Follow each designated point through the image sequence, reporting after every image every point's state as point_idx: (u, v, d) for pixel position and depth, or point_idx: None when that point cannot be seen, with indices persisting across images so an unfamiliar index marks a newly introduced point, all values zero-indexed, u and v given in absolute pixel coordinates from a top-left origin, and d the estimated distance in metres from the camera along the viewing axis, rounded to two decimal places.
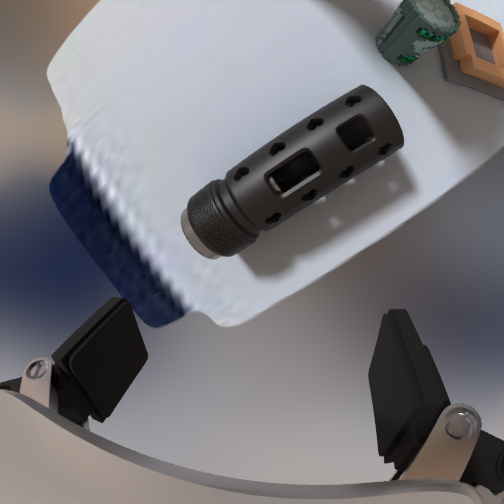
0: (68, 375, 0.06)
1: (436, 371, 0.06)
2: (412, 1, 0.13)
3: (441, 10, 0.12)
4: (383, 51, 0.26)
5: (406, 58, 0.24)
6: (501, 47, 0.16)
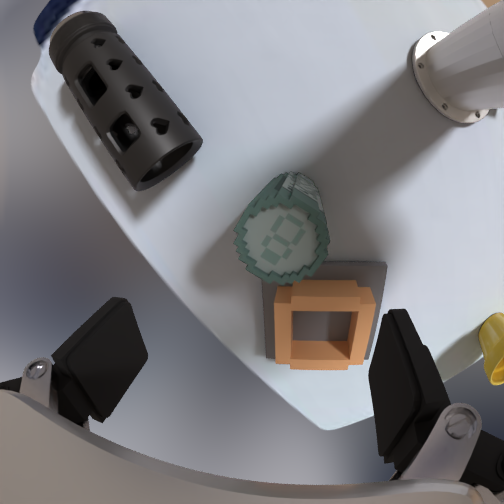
0: (68, 375, 0.06)
1: (436, 371, 0.06)
2: (278, 200, 0.17)
3: (284, 253, 0.18)
4: None
5: None
6: (327, 355, 0.34)
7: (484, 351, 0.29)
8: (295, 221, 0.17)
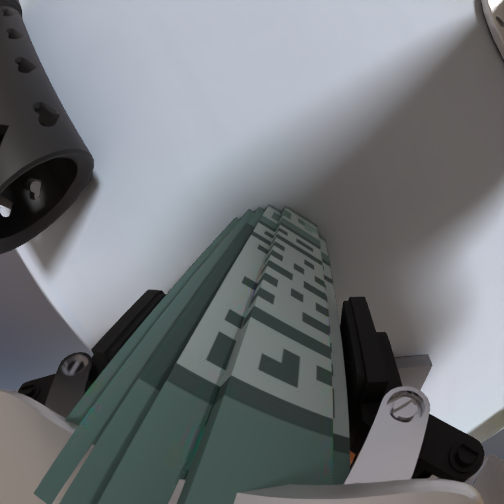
0: None
1: (392, 356, 0.07)
2: None
3: None
4: None
5: None
6: None
7: None
8: None
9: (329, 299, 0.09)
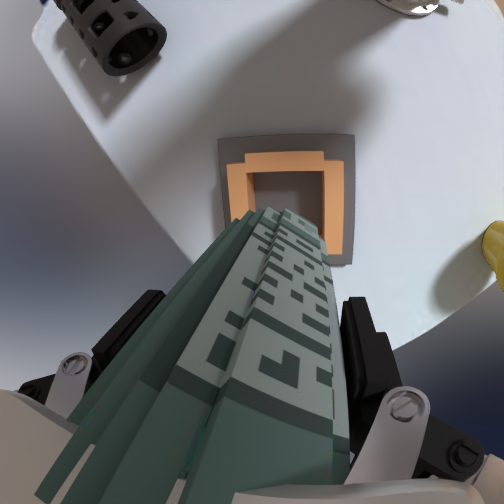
0: None
1: (392, 356, 0.07)
2: None
3: None
4: None
5: None
6: None
7: (493, 259, 0.25)
8: None
9: (329, 300, 0.09)
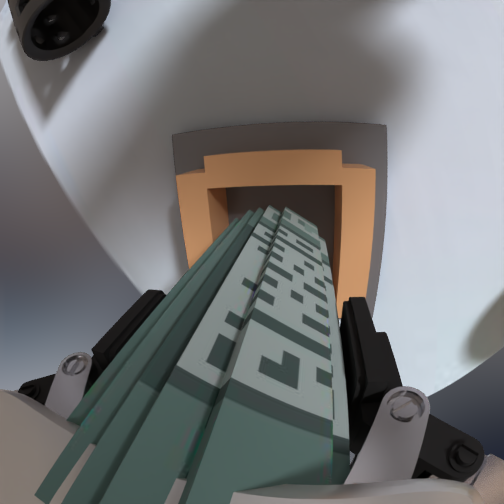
0: None
1: (392, 356, 0.07)
2: None
3: None
4: None
5: None
6: None
7: None
8: None
9: (329, 300, 0.09)
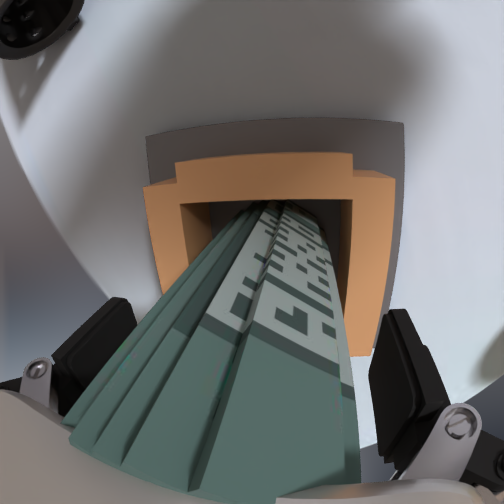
0: (68, 375, 0.06)
1: (436, 371, 0.06)
2: (140, 476, 0.02)
3: None
4: None
5: None
6: None
7: None
8: None
9: (329, 277, 0.10)
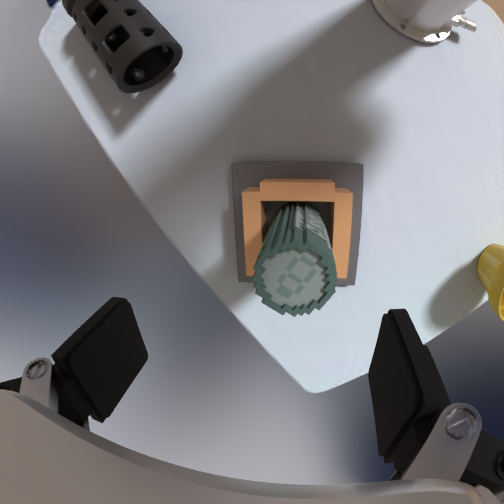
0: (68, 375, 0.06)
1: (436, 371, 0.06)
2: (294, 245, 0.19)
3: (297, 289, 0.20)
4: (285, 207, 0.32)
5: None
6: None
7: (486, 282, 0.28)
8: (308, 262, 0.19)
9: (324, 230, 0.26)
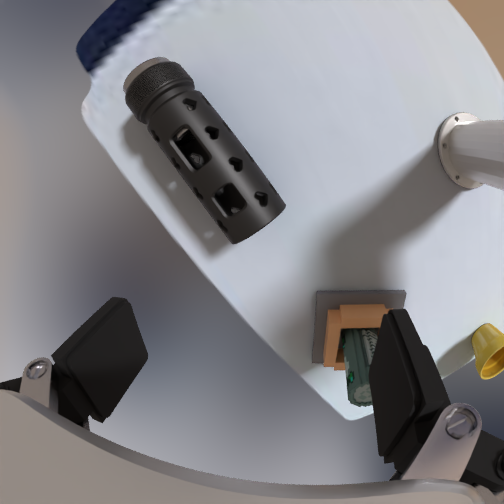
0: (68, 375, 0.06)
1: (436, 371, 0.06)
2: None
3: (369, 396, 0.32)
4: None
5: (343, 344, 0.42)
6: None
7: (475, 353, 0.39)
8: None
9: None
